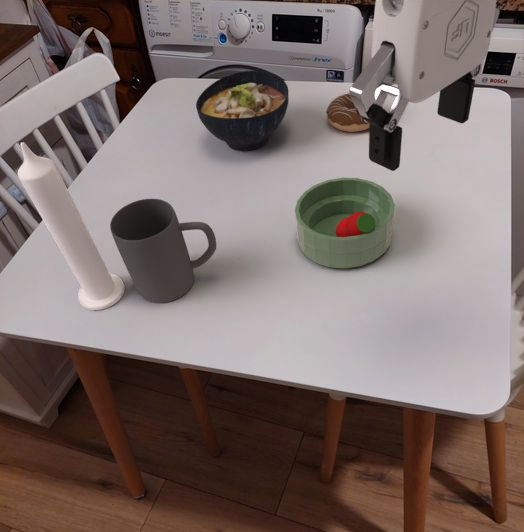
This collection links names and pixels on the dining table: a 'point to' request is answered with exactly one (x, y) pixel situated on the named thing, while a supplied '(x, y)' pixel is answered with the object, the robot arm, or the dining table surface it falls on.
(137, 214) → the mug
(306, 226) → the fruit bowl
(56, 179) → the candle
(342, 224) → the red ball green cap
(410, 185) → the dining table surface
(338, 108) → the donut
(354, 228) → the strawberry
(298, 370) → the dining table surface
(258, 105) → the bowl
